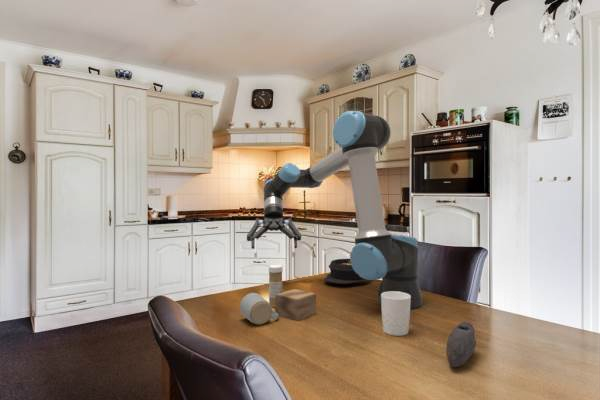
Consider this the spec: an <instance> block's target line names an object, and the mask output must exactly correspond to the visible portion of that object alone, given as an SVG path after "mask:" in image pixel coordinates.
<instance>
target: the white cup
mask: <svg viewBox="0 0 600 400" xmlns="http://www.w3.org/2000/svg"><path fill="white" fill-rule="evenodd" d="M410 303H411V296H410V295H409V294H407V293H403V292H396V291H389V292H383V293H381V304H380V305H381V307H380V308H381V309H380V310H381V321H382V331H383V333H384V334H386V335H389V336H395V337H397V336H398V337H400V336H402V337H403V336H406V335H408V334H409V328H410V327H409V326H410V317H411V308H410Z"/></svg>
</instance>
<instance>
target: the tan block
mask: <svg viewBox="0 0 600 400" xmlns="http://www.w3.org/2000/svg"><path fill="white" fill-rule="evenodd" d="M274 309H275V310H274V311H275V312H276V313H278V314H279V316H278V317H283V318H286V319H290V320H294V321H297V322H298V321H301V320H303V319H305V318H308V317H310V316H313V315H315V314H317V294H316V293H314V292H310V291H306V290H300V289H296V288H292V289H290V290H286V291H284V292H283V291H282V293H280V294H277V295H275V307H274Z"/></svg>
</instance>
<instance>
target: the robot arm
mask: <svg viewBox="0 0 600 400" xmlns="http://www.w3.org/2000/svg"><path fill="white" fill-rule="evenodd" d="M333 125H334V126H333V129H332V136H333V140H334V143H336V144H337V145H338V146H339V148H337V149H335V150H334V151H332V152H331V153H330V154H328V155H326V156H325V157H323V158H322V159H320V160H318V162H315V163H314V164H313V165H311V166H310V167H308V168H306V169H300V168H299V167H298V166H297V165H296V164H294V163H292V162H291V163H290V162H287V163H284V165H283V166H282V167H280V169H279V170H278V172H277V173H276V174H275V176H274V177H273V178H269V179H267V180H266V181H265V182H264V187H263V219H260V218H259V217H257V218H255V223H254V224H253V226H252V227H251V228H250V230H249V232H248V233H247V234H246V241H247V242H250V243H251V249H252V250H253V249H254V250H253V251H254V252H253V253H254V254H253V255H254V258H257V257H258V256H257V255H258V254H257V253H258V250H257V248H258V240H259V238H261V236H263V235H264V234H265V233H267V232H269V231H271V232H272V231H276V232H277V231H280V232H281V233H283V234H284V235H285V236H287V237H288V238H289V239H290V240H291V241H290V243H291V244H290V245H291V256H292V257H293V258H294V257H295V253H296V252H295V249H297V248H298V241H302V234H301V232H300V231H299V230H298V228H297V227H296V225H295V224H294V222H293V219H292V218H291V217H289V218H288V219H285V218H284V211H283V210H284V205H283V196H284V195H285V194H286V193H287V191H288V190H289V189H291V188H293V189H296V188H297V189H298V188H305V189H307V188H308V189H315V188H319V187H321V185H322V183H323V181H324V180H326V179H327V178H329V177H331V176H332V175H334V174H336V173H338V172H339V171H341V170H343V169H344V168H347V167H349V173H350V181H351V188H352V194H353V195H352V196H353V202H354V203H353V204H354V210H355V217H356V223H357V231H358V232H357V234H356V236H354V242H355V243H354V244H355V245H354V246H353V247H352V249H351V251H350V254H349V259H350V262H351V265H352V267H353V269H354V271H355V272H356V273H357V274H358V275H359V276H360V277H362V278H364V279H367V280H368V281H373V280H381V283H380V285H379V288H378V290H377V295H376V302H377V303H378V304H379V305H381V293H383V292H389V291H396V292H403V293H407V294H409V295H410V296H411V303H410V309H417V308H419V307H422V306H423V303H424V301H423V299H424V298H423V295H422V292H421V287H420V284H419V282H418V266H419V265H418V264H419V263H418V262H419V261H418V258H419V257H418V256H419V254H418V253H419V245H418V244H419V243H418V239H417V238H416V237H414V236H407V235H396V234H395V235H394V234H392V233H391V232H390V231H388V230H387V229H386V221H385V217H384V210H383V204H382V203H383V202H382V196H381V191H380V190H381V189H380V184H379V175H378V170H377V163H376V162H377V161H376V155H377V153H378V152H379V151H381V150H382V149H383V148H384V147H385V146H386V145H388V143H389V141H390V138H391V128H390V124H389V123H388V122H387V120H385V118H383V117H382V116H379V115H374V114H371V113H365V112H362V111H359V110H347V111H345V112H343V113H341V115H339V116H338V118H337V120H336V122H335V123H334V124H333ZM285 224H286V225H287V226H286V225H285ZM261 225H262V227H261ZM260 227H261V228H260Z"/></svg>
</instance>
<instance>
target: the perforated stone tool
mask: <svg viewBox="0 0 600 400" xmlns="http://www.w3.org/2000/svg"><path fill="white" fill-rule="evenodd" d="M476 346H477V340H476V337H475V328H474V326H473V324H471V323H469V322H467V321H461V322H459V323H458V324H457V325H455V327H454V328H453V329H452V330H451V332H450V334H449V336H448V338H447V341H446V347H445V349H446V351H445V353H446V358H447V361H448V363H449V366H450V367H452V368H460V367H461V366H463V365H464V364H465V363H466V362H467V361H468V360H469V359H470V358H471V356H472V355H473V353H474V351H475V349H476Z"/></svg>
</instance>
